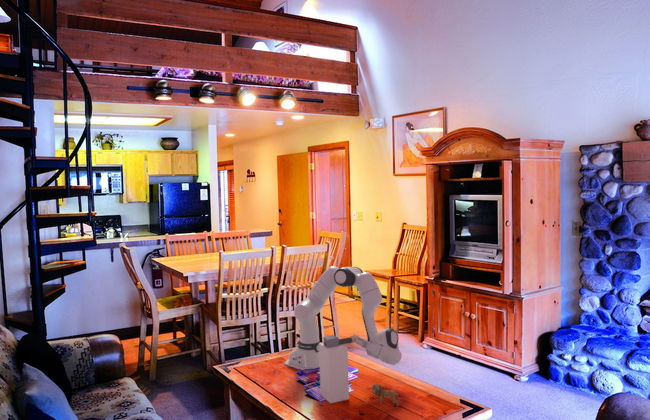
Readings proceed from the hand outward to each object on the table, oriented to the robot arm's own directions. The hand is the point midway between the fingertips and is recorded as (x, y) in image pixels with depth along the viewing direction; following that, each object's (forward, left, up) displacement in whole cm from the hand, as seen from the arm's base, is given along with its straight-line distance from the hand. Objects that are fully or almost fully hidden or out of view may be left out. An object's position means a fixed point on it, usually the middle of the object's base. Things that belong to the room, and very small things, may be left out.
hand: (353, 338), depth 250 cm
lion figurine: (+19, -5, -28) cm, 34 cm away
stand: (-7, -9, -27) cm, 30 cm away
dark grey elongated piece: (-4, -5, -1) cm, 6 cm away
